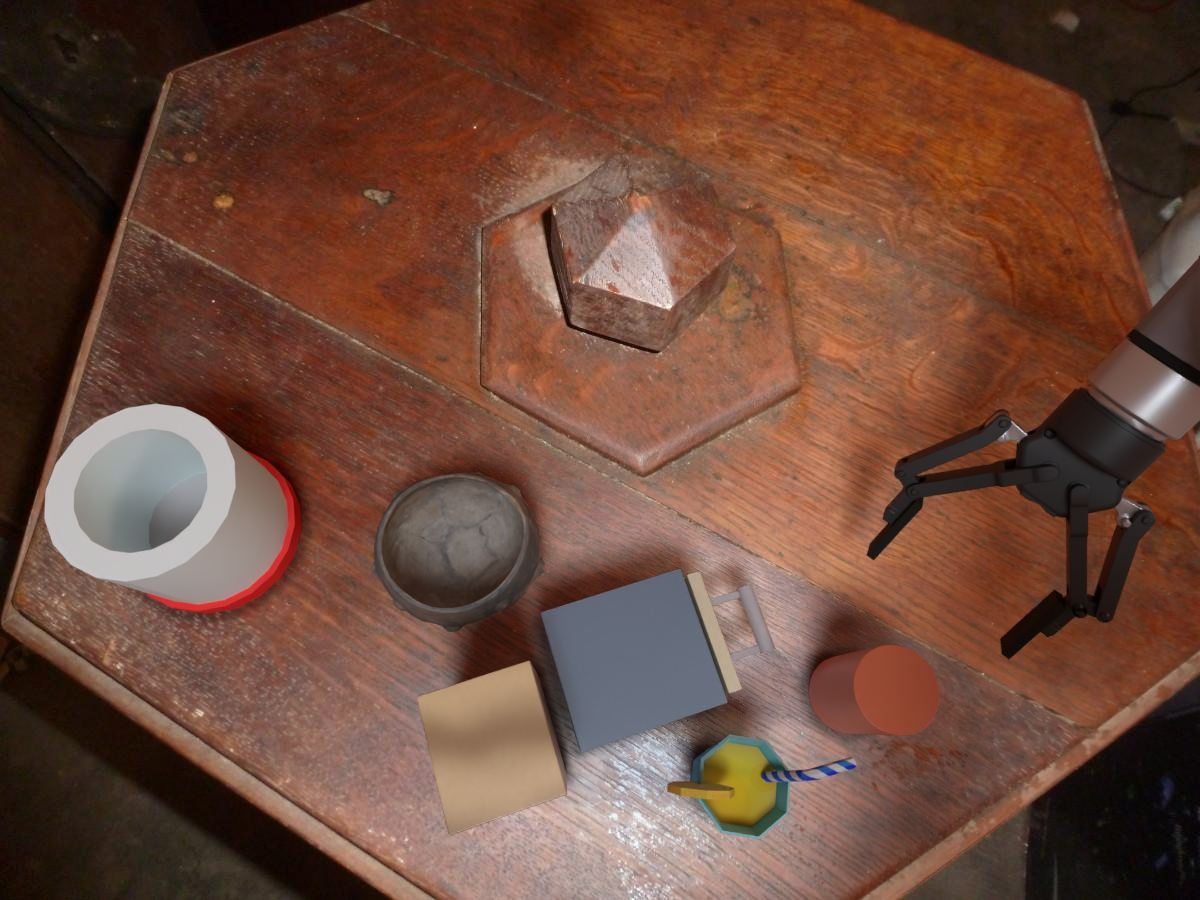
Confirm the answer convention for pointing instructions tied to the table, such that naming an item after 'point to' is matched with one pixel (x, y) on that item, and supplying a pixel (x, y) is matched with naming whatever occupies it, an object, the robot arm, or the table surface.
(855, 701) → the tea tin
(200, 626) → the table surface
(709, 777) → the cup
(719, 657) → the drawer
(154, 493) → the container
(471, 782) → the stand
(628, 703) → the cabinet
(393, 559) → the bowl
